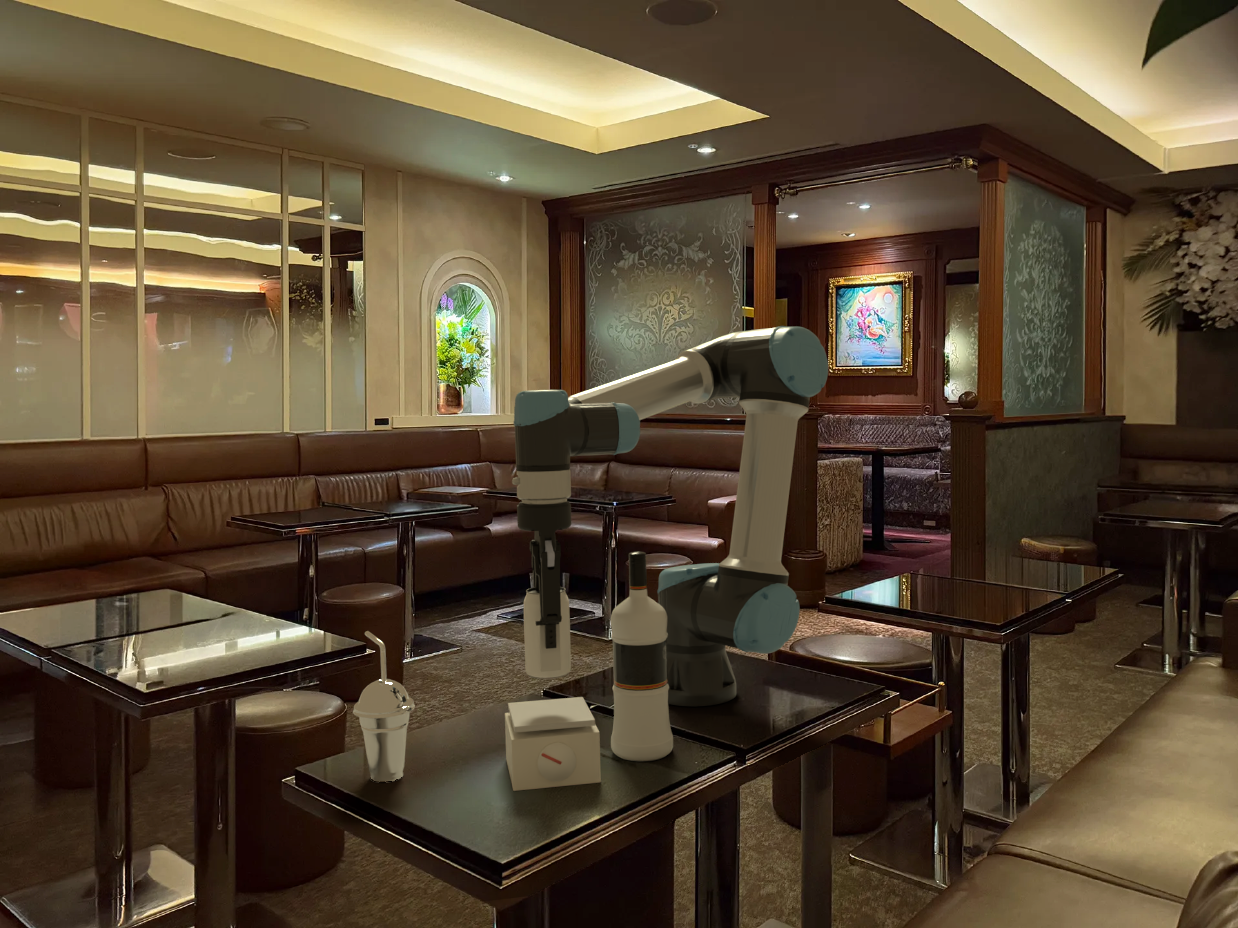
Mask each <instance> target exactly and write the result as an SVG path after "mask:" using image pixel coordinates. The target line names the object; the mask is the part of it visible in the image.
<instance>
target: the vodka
mask: <svg viewBox="0 0 1238 928" xmlns="http://www.w3.org/2000/svg"><path fill="white" fill-rule="evenodd" d="M646 557H647V553H646V552H644V551H637V550H636V551H631V552H629V553H628V574H629V575H628V581H629V582H628V584H629V586H628V587H629V595H628V597H627V598H625V599H624V600H623V601H621V602H620V603H619V604H617V605H616V606H615V607H614V608H613V610H612V612H611V615H610V627H611V640H612V661H613V669H612V670H613V686H612V691H613V703H614V706H613V708H614V709H613V715H614V716H613V726H612V732H611V733H612V734H611V736H610V749H611V750H612V753H614V755H615V756H617V757H618V758H620V759H623V760H626V761H631V762H638V763H639V762H652V761H656V760H660V759H663V758H665V757H666V756H667V755H669V754H670V753H671V752H672V750H673V748H674V736H673V732H672V729H671V728H672V727H671V722H670V713H669V710H670V709H669V704H668V690H669V685H668V684H667V683H668V679H667V639H666V638H667V636H668V633H667V614H666V611H665V609H664V608H663V607H662V606H661V605H660V604H658V601H657V602H656V600H654V599H652V598H651V597H650V596H648V585H647V579H648V578H647V558H646Z"/></svg>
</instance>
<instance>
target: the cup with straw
mask: <svg viewBox="0 0 1238 928" xmlns="http://www.w3.org/2000/svg"><path fill="white" fill-rule="evenodd" d="M364 635H365V636H366V637H367V638H368V639H370V640H371V641H372V642H374V643H375V645H378V646H379V650H380V673H381V674H380V675H381V676H380V679H377V680H375V681H373V682H371V683H369V684H368V685H367V686H366V687H365V688H364V689H363V690H362V691H361V694H360V697H359V699H358V701H357V702H356V703H355V704H354V705H353V710H352V713H353V715H354V716H356V717H358V718H359V720H358V721H359V724H360V726H361V731H362V734H363V739H364V745H365V746H364V747H365V751H366V752H365V753H366V759H367V764H368V765H367V766H368V771H369V773H370V777H371V779H373V780H374V781H379V782H380V781H385V782H386V781H392V782H395V780H396V779H398V780H401V779H402V778H403V776H404V772H403V771H404V768H405V760H406V759H405V758H406V746H407V731H408V726H409V720H410V714H411V713H410V712H412V711H413V710H414V709H415V708H416V705H415V703H414V699H413V697H410V696H409V693H408V691H407V690H406V688H405V686H403V685H402V684H401V683H400V682H398V681H396V680H393V679H390V678H387V657H386V645H385V643H384V642H383V641H382V640H381V639H379V638H378V637H377V636H376V635H374V634H373V633H372V632H370V631H369V630H367V631H365V632H364ZM401 777H402V778H401ZM371 779H370V780H371ZM374 781H373V782H374ZM396 781H397V780H396ZM379 782H378V783H379ZM386 783H387V782H386Z"/></svg>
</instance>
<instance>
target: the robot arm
mask: <svg viewBox="0 0 1238 928" xmlns="http://www.w3.org/2000/svg"><path fill="white" fill-rule="evenodd" d="M828 363H829V362H828V358H827V353H826V350H825V348H824V346H823V345H822V344H821V340H820V338H818V336H817V335H816V334H815V333H814V332H812V331H811V330H810V329H807V328H805V327H802V326H797V325H796V326H785V325H780V326H776V327H772V328H771V327H770V328H760V329H751V330H740V331H739V330H738V331H734V332H731V333H730V332H729V333H727V334H724V335H722V336H719V337H717V338H714V339H711V340H709V341H706V342H703V343H701V344H699V345H697V346H693V347H692V348H689V349H686V350H683V351H681V352H679V353H678V355H676V358H675V360H671V361H669V362H666V363H663V364H660V365H657V366H654V367H651V368H649V369H646V370H643V371H642V370H641V371H639V372H637V373H634V374H632V375H628V376H625V377H622V378H620V379H617V380H614V381H611V382H608V383H604V384H602V385H599V386H596V387H593V388H590V389H588V390H584V391H581V392H578V393H576V394H573V395H570V396H569V395H568V392H567V391H566V390H564V389H539V390H538V389H537V390H536V389H535V390H534V389H533V390H532V389H531V390H522V391H520V392H518V393H517V394H516V396H515V399H514V413H513V414H514V415H513V418H514V419H513V427H514V442H515V443H514V446H515V447H514V448H515V465H516V466H515V469H516V475H517V477H513V478H512V480H511V483H512V485H515V486H516V497H517V499H518V500H521V501H520V502H519V503H518V504H517V505H516V513H517V514H516V515H517V519H516V520H517V527H518V529H519V530H521V531H526V532H534V538H533V539H532V540H531V541H529V551H530V554H531V568H532V583H533V584H532V588H534V587H535V590H536V591H539V594H540V613H541V619H540V621H535V622H536V626H539V630H540V666H541V672H543V671H556V670H561V664H560V626H559V622H561V620H562V616H561V596H560V587H561V558H562V553H561V552H562V548H561V547H562V546H561V542H559V540H558V539H557V538H556V531H559V530H560V531H563V530H566V529H569V528H570V527H571V525H572V504H571V502H570V501H568V499H569V498H570V497H571V496H572V488H571V487H572V486H571V485H572V483H571V481H572V480H571V479H572V478H571V465H570V464H571V457H577V456H601V455H604V456H605V455H611V456H615V455H617V454H625V453H628V452H630V451H633V449H635V447H636V446H637V444H638V442H639V440H640V436H641V427H640V426H641V420H645V419H646V418H647V419H648V418H649V417H652V416H654V415H657V414H660V413H662V412H666V411H668V410H670V409H671V410H672V409H673V408H676V407H679V406H682V405H683V404H686V403H692V404H703V403H706V402H708V401H712V400H717V399H732V398H735V399H737V398H738V399H739V400H738V404H739V406H740V407H741V408H742V409H743V411H744V412H745V415H746V417H745V425H744V431H743V432H744V434H743V441H742V448H741V449H742V450H741V457H740V464H739V473H738V482H737V489H736V498H735V504H734V505H735V506H734V514H733V520H732V531H731V538H730V546H729V554H728V555H727V557H726V558H724V559H723V560H722V561H721V562H720V563H719V562H718V563H717V562H715V563H714V562H712V563H711V562H710V563H709V562H708V563H697V564H695V563H694V564H685V565H680V566H679V565H678V566H674V567H669V568H665V569H663V570H662V571H661V572H660V573H659V576H658V589H657V591H656V592H657V603H658V604H660V605H661V606H662V607H663V608H664V609H665V611H666V614H667V633H668V636H667V638H666V639H667V679H668V683H667V684H668V685H669V690H668V705H673V706H678V707H679V706H680V707H706V706H707V707H708V706H714V705H721V704H723V703H727V702H730V701H732V700H733V699H734V698H736V697H737V680H736V677H735V675H734V674H735V673H734V671H733V669H732V666H731V662H730V660H729V657H728V654H727V650H726V649H727V647H729V648H733V649H734V648H735V649H738V650H740V651H742V652H744V653H756V654H762V655H763V654H764V655H765V654H766V655H767V654H771V653H775V652H777V651H778V650H780V649H781V648H782V647H784V645H785V644H786V643H787V642H788V641H790V639H791V638H792V636H793V634H794V633H795V631H796V628H797V626H798V622H799V617H800V609H801V608H800V602H799V599H797V594H796V592H795V591H794V590H793V588H791V587H790V586H789V585H788V584H789V575H790V573H789V572H788V570H787V569H786V568H785V566H784V565H783V563H782V555H783V547H784V537H785V529H786V523H787V513H788V505H789V495H790V488H791V482H792V481H791V479H792V471H793V463H794V455H795V446H796V438H797V431H798V430H797V429H798V423H799V422H798V421H799V420H800V419H801V418H802V417H803V416H804V415H805V414H806V413H808V412H809V408H810V399H811V398H812V397H814V396H816V395H818V394H819V393H820V392H821V391H822V388H824V387H825V385H826V383H827V380H828V375H829V364H828Z"/></svg>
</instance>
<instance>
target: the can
mask: <svg viewBox="0 0 1238 928" xmlns="http://www.w3.org/2000/svg"><path fill="white" fill-rule="evenodd" d="M566 591H567V590H566V587H562V586H560V596H561V616H562V620H561V622H559V626H560V664H561V670H556V671H543V672H541V666H540V630H539V626H536V622H535V621H540V619H541V613H540V594H539V591H536V590H535V587H534V588H533V587H530V588H528V589H526V590H525V592H526V595H525V597H524V600H523V632H524V633H523V634H524V635H523V636H524V663H525V664H524V665H525V666H524V667H525V673H526V675H528V677H530V678H533V679H539V680H551V679H560V678H563V677H565V676H567V675H569V674H570V672H571V669H572V659H571V658H572V654H571V651H572V650H571V649H572V647H571V621H570V619H571V617H570V599H569V597H568V595H567V593H566Z"/></svg>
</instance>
